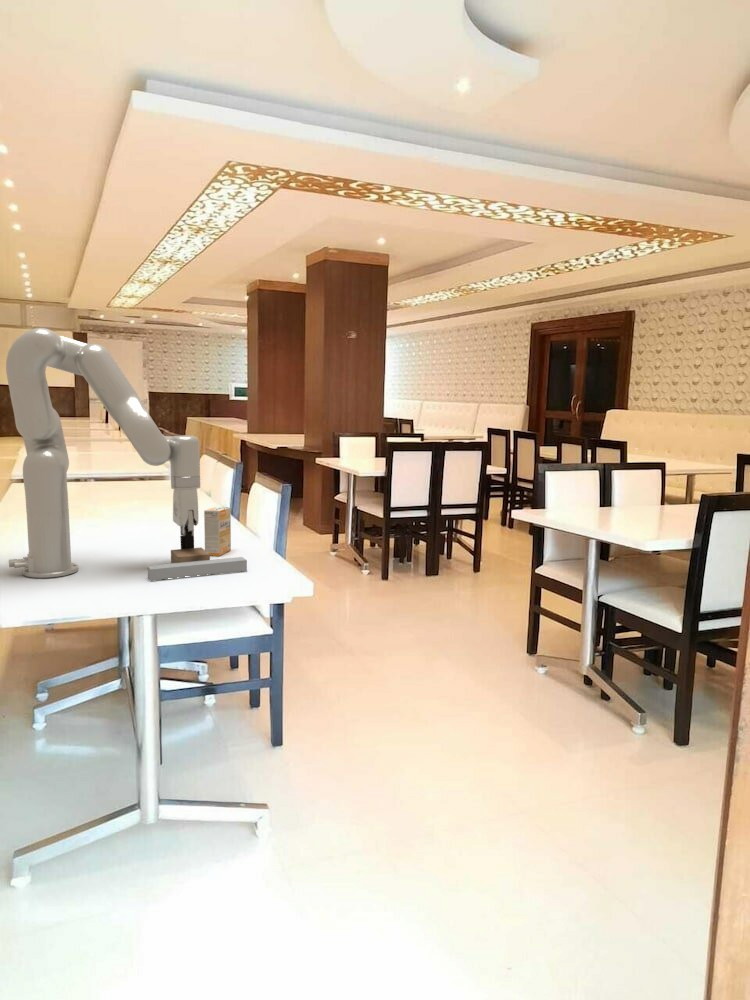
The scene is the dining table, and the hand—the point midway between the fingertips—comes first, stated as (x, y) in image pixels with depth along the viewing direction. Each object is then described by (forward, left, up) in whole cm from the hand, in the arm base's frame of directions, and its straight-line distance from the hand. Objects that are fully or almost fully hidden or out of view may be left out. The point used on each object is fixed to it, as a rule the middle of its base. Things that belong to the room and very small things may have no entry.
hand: (187, 550), depth 184 cm
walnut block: (-1, -6, -4) cm, 7 cm away
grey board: (0, -12, -4) cm, 13 cm away
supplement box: (+11, +10, -4) cm, 15 cm away
